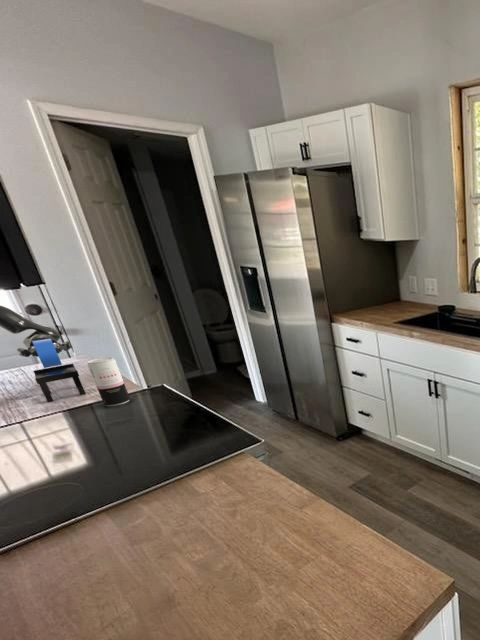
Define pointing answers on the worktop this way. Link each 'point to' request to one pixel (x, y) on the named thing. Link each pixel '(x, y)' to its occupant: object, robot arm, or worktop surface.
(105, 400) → the beverage can
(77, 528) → the worktop surface
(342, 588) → the worktop surface
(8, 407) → the worktop surface
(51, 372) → the tape rack
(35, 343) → the tape roll
